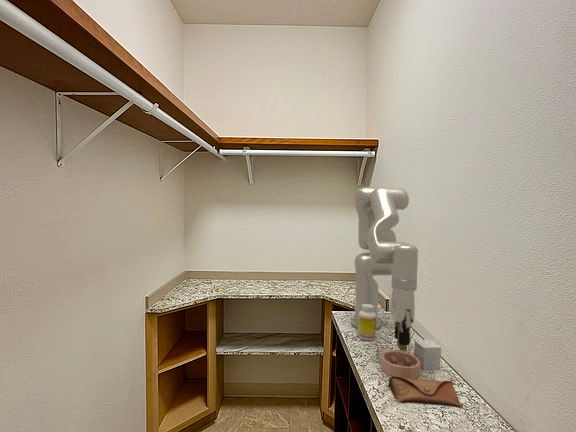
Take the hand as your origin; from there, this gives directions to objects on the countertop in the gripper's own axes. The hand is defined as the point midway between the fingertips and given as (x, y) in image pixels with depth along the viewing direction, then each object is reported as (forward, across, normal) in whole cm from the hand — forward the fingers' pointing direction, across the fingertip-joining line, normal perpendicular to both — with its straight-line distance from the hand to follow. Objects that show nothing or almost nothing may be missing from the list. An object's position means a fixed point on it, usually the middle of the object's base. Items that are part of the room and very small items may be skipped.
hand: (401, 341), depth 105 cm
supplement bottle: (+9, -26, -6) cm, 28 cm away
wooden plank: (+2, 0, 0) cm, 2 cm away
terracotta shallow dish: (+9, -1, 0) cm, 10 cm away
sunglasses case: (+10, +14, +3) cm, 17 cm away
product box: (+10, -5, +10) cm, 15 cm away
